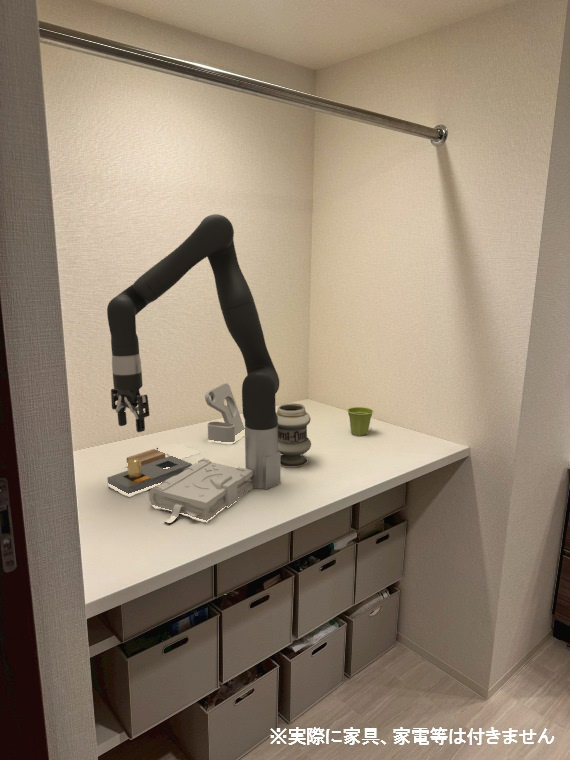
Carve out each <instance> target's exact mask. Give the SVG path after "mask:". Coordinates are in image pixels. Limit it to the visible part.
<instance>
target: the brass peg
mask: <svg viewBox="0 0 570 760" xmlns="http://www.w3.org/2000/svg"><path fill="white" fill-rule="evenodd" d="M127 469H128V470H127V471H128V475H129V480H131V481H134V480H136V479H138V478H141V477H142V469H141V459H140V458H137V457H135V458H130V459H128V467H127Z"/></svg>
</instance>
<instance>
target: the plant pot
mask: <svg viewBox="0 0 570 760" xmlns="http://www.w3.org/2000/svg"><path fill="white" fill-rule="evenodd" d="M346 412H347V413H348V416H349V427H350V433H351V434H352V435H355V436H365V435H369V429H370V423H371V418H372V415H373V414H374V410H373V409H372V408H369V407H365V406H364V407H363V406H355V407H349V408H347V410H346Z"/></svg>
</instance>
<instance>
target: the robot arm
mask: <svg viewBox="0 0 570 760" xmlns="http://www.w3.org/2000/svg"><path fill="white" fill-rule="evenodd" d="M234 233H235V231H234V227H233V223H232V222H231V220H230V219H228V217H226V216H224V215H222V214H216V213H214V214H210V215H208V216H206V217H204V218H203V219H202V220H201V222H200V223H199V225H198V226H197V227H196V228H195V229H194V230H193V232H191V234H190V235H189V236H188V237H186V239H185V240H184V241H183V242H182V243H181V244H179V246H178V247H176V248H175V249H174V250H173V251H171V252H170V253H169V254H168V255H166V256H165V257H163V258H162V259H161V260H159V261H158V262H157V263H155V264H153V266H152V267H150V268H149V269H148V270H147V271H145V272H144V273H143V274H142V275H141V276H139V277H138V278H137V279H136V280H135V281H134V282H133V283H132V284H131V285H130V286H128V287H127V288H126V289H124V290H122V291H121V292H120V293H119V294H117V295H116V296H115V297H113V298H112V299H111V300H110V301H109V302H108V304H107V309H106V311H107V312H106V315H107V323H108V327H109V334H110V344H111V345H110V347H111V370H112V382H113V388H111V389H110V398H111V409H112V410H113V411H114V410H115V413H117V421H118V426H119V427H124V426H126V425H127V423H128V420H127V419H128V418H127V412H126V410H127V408H128V409H129V410H130V413H133V415H134V417H135V428H136V432H137V433H142V432H145V430H146V425H145V424H146V422H145V418H147V417H150V407H149V405H150V404H149V397H148V395H147V394H141V393H140V389H141V388H142V387H143V385H144V384H143V374H142V373H143V372H142V361H141V356H140V343H139V336H138V335H137V323H136V322H137V321H136V315H138V314H139V313H141V311H142V310H144V308H146V307H148V305H149V304H151V303H153V302H155V301H156V300H157V299H159V298H160V297H161V296H163V295H164V294H165V293H166V292H168V291H169V290H171V288H172V287H174V286H175V285H176V284H177V283H178V282H179V281H180V280H181V279H182V278H183V277H184V276H185V275H186V274H187V273H188V272H189V271H190V270H191V269H192V268H193V267H195V266H196V265H197V264H199V263H200V262H202V261H203V260H204V259H206V258H207V259H208V263H209V264H210V267H211V270H212V273H213V278H214V282H215V288H216V293H217V294H216V295H217V298H218V302H219V307H220V310H221V312H222V313H221V314H222V318H223V321H224V323H225V325H226V326H225V327H226V328H227V330H228V332H229V335H230V336H231V337H232V339H233V340H234V342H235V344H236V345H237V347H238V349H239V350H240V352H241V355H242V358H243V361H244V365H245V369H246V373H247V375H246V376H245V378H244V379H243V381H242V384H241V401H242V402H241V405H242V416H243V420H244V428H245V436H244V449H245V450H244V457H245V458H244V460H245V461H244V462H245V467H244V468H246V469H250V470H253V476H252V477H251V478H250V479H251V481H249V483H252V484H253V488H254V489H263V490H269V489H270V488H273V487H276V486H277V485H278V484H281V466H282V465H281V455H282V454H281V453H280V452H279V451H278V417H277V415H276V413H277V411H276V394H277V393H278V391H279V388H280V377H279V375H278V372H277V370H276V368H275V365H274V362H273V360H272V357H271V356H270V353H269V351H268V347H267V344H266V340H265V335H264V331H263V327H262V323H261V321H260V317H259V316H260V315H259V313H258V310H257V309H258V308H257V307H256V302H255V299H254V296H253V294H252V290H251V289H250V287H249V285H248V282H247V280H246V278H245V276H244V274H243V272H242V269H241V266H240V265H239V261H238V257H237V251H236V248H235V247H236V246H235V242H234V236H235V234H234Z"/></svg>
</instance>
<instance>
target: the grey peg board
mask: <svg viewBox="0 0 570 760" xmlns="http://www.w3.org/2000/svg"><path fill="white" fill-rule="evenodd" d="M192 465H193V463H191V462H188V461H185V460H184V459H182V460H181V459H178V458H176V457H173V456H169V455H168V456H167V457H166V456H165V458H163V459H160V460H157V461H154V462H151V463H148V464H145V465H142V466H141V469H142V477H141V478H138V479H136V480H134V481H131V480H129V475H128V470H125V471H123V472H120V473H116V474H114V475H110V476H107V484H108V483H109V484H111V485H113V486H115V487H117V488H118V489H120V490H122V491H124V492H126V493H128V494H129V493H132V492H135V491H138V490H141V489H144V488H146V487H149V486H152V485H154V484H158V483H161V482H164V481H165V480H167V479H169V478H171V477H173V476H176V475H178V474H180V473H182V472H183V471H184V470H185V469H186V468H188V467H190V466H192ZM166 467H170V468H168V469H163V468H166Z"/></svg>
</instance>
